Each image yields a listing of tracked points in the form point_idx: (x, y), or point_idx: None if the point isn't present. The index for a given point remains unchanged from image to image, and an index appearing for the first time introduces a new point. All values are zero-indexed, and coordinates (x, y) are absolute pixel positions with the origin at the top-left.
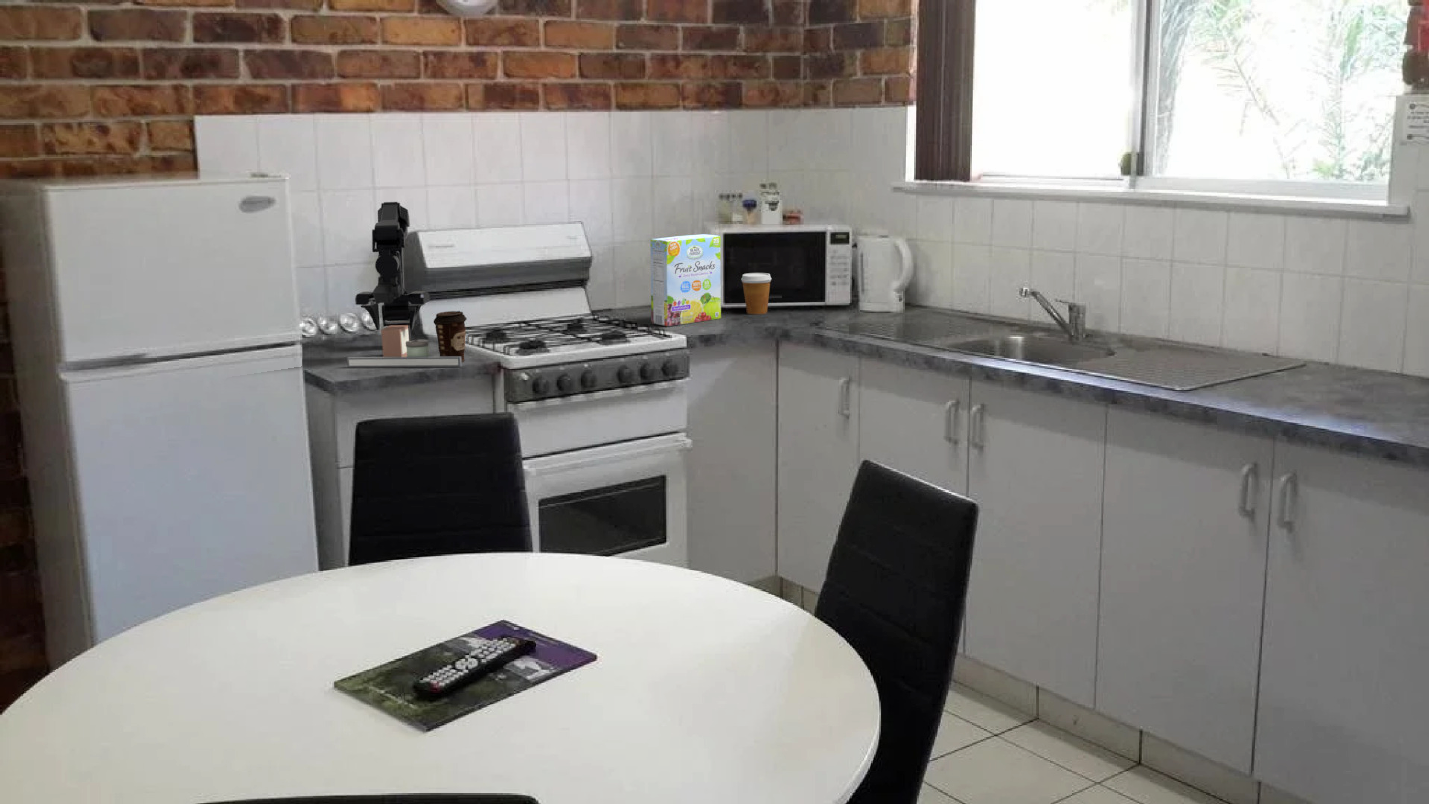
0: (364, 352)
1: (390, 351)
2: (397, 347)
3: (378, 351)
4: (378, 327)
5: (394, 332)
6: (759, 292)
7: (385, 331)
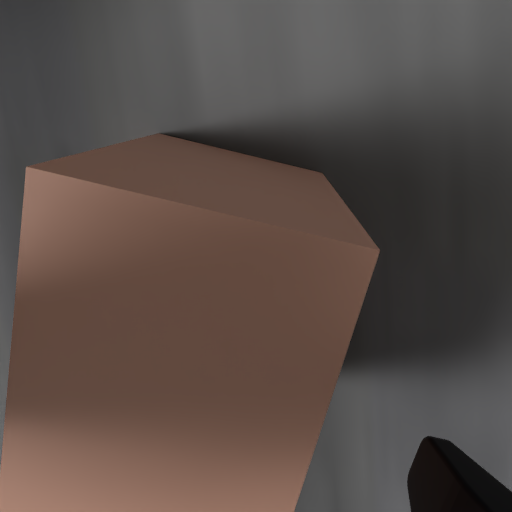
0: None
1: (251, 164)
2: (165, 151)
3: (381, 505)
4: (432, 471)
5: (140, 179)
6: None
7: (298, 220)
